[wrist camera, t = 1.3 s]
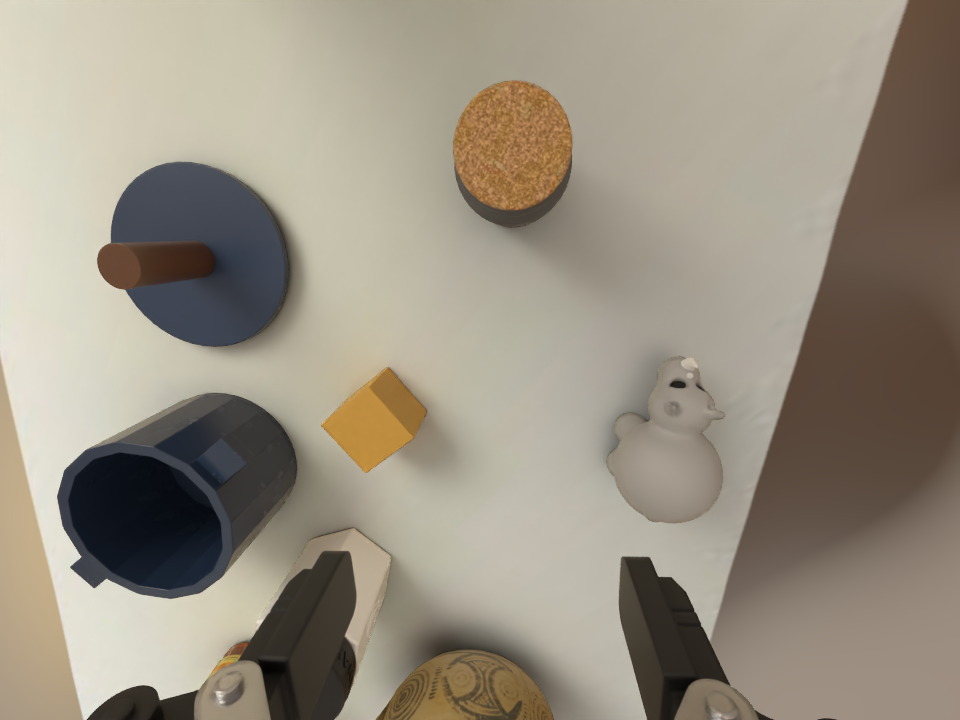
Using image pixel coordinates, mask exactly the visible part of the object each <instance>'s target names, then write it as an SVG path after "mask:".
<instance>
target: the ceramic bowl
mask: <svg viewBox="0 0 960 720" xmlns="http://www.w3.org/2000/svg"><path fill="white" fill-rule="evenodd" d="M376 720H554V719H553V716H552V713H551V710H550V708H549V706H548V704H547V702H546V700H545V698H544V696H543V695H542V693H541V691H540V690H539V688H538V687H537V685H536V684H535V683H534V681H533V680H532V679H531V678H530V677H529V676H528V675H527V674H526V673H525V672H524V671H523V670H522V669H521V668H519V667H518V666H517V665H516V664H514V663H513V662H511V661H509V660H508V659H506V658H504V657H502V656H500V655H497V654H494V653H491V652H487V651H482V650H455V651H449V652H446V653H443V654H440V655H438V656H436V657H434V658H432V659H431V660H429V661H427V662H425V663H423V664H422V665H421V666H419V667H418V668H416V669H415V670H414V671H413V672H412V673H411V674H410V675H409V676H408V678H407V679H406V680H405V681H404V682H403V683H402V684H401V685H400V686H399V688H398V689H397V690H396V692H395V694H394V696H393V697H392V698H391V700H390V701H389V703H388V704H387V706H386V707H385V708H384V710H383V711H382V712H381V714H380V715H379V716H378V717H377V719H376Z"/></svg>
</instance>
